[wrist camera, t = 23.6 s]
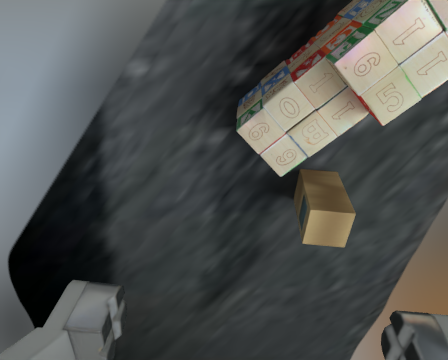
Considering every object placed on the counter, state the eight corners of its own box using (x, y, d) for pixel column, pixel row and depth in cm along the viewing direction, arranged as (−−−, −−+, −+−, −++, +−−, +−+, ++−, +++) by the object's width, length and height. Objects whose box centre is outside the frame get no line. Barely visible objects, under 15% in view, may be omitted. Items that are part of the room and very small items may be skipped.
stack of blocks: (274, 138, 38) (281, 197, 28) (238, 98, 36) (231, 144, 26) (462, -7, 30) (577, -3, 19) (429, -70, 28) (536, -104, 17)
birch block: (292, 195, 43) (301, 243, 35) (298, 165, 40) (310, 209, 33) (327, 198, 42) (345, 247, 35) (336, 168, 40) (356, 213, 33)
